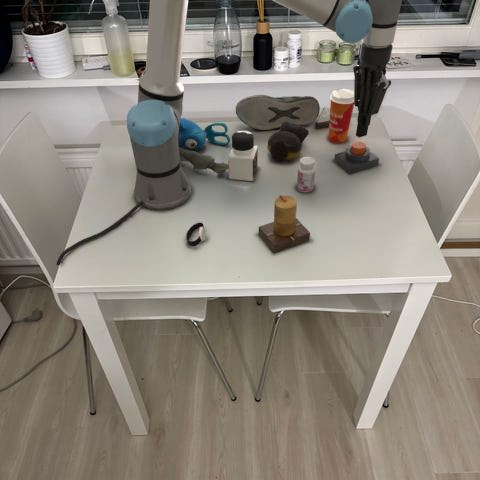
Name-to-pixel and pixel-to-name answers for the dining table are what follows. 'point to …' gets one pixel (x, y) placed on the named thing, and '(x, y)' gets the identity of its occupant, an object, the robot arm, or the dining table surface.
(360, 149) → the button
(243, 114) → the shoe
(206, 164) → the statue
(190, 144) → the toy
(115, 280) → the dining table surface
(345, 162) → the button box
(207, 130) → the scissors
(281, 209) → the lock knob
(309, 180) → the pill bottle
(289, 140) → the figurine
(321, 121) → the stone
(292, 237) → the panel
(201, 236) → the watch
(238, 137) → the medicine bottle
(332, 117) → the paper cup
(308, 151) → the dining table surface
